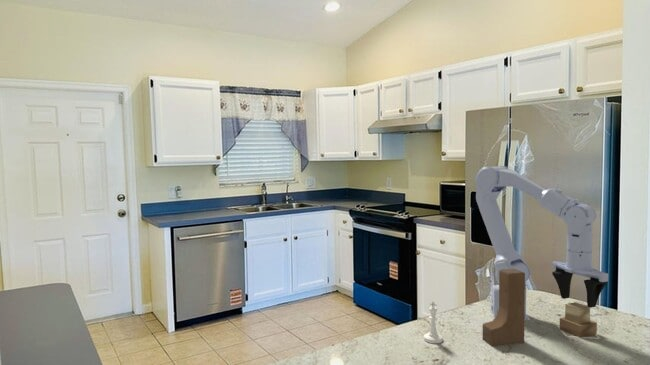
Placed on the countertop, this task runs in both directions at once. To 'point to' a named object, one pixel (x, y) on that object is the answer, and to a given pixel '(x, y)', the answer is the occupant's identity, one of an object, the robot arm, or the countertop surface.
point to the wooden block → (508, 311)
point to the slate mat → (576, 336)
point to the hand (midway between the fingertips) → (578, 302)
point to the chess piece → (433, 327)
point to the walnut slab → (578, 328)
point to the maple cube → (577, 313)
